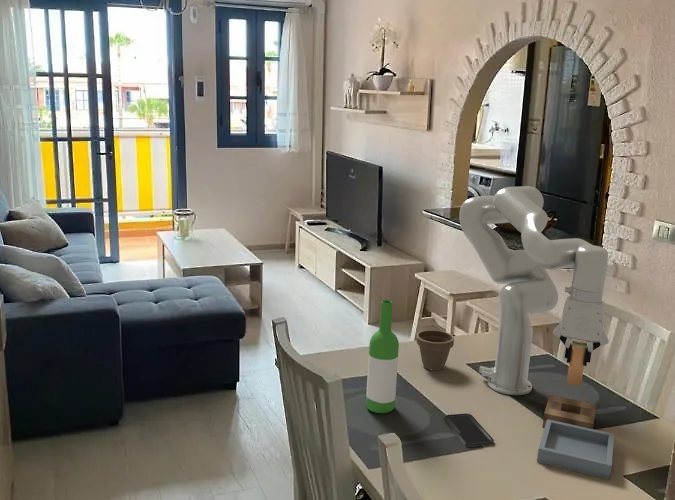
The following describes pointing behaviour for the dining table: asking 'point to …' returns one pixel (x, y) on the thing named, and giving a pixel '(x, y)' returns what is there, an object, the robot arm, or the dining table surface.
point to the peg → (576, 363)
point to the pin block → (570, 412)
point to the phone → (468, 430)
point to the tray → (576, 448)
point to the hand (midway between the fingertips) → (576, 362)
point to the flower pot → (434, 348)
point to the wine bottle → (382, 364)
